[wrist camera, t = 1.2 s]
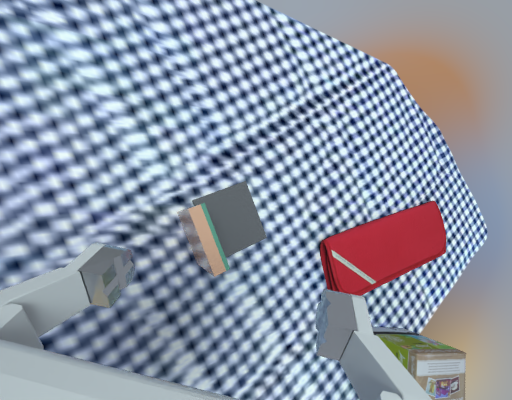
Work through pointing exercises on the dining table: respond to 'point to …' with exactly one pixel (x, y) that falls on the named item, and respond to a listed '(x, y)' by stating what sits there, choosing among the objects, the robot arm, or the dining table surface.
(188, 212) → the tile
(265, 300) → the dining table surface
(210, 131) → the dining table surface
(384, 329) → the tea box
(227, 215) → the mat
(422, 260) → the dish drying mat
